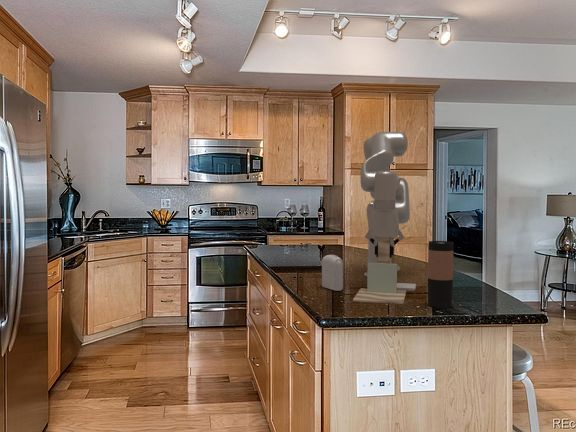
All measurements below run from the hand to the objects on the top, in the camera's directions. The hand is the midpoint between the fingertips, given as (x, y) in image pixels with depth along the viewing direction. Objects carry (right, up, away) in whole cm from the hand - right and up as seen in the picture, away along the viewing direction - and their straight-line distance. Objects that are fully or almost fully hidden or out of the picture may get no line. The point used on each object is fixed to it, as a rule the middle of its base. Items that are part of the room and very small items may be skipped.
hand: (384, 256), depth 192 cm
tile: (-2, -7, -6) cm, 10 cm away
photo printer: (-18, -12, +3) cm, 22 cm away
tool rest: (+8, -12, +6) cm, 15 cm away
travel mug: (+13, -14, -25) cm, 31 cm away
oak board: (-3, -13, -11) cm, 17 cm away
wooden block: (0, -4, 0) cm, 4 cm away
